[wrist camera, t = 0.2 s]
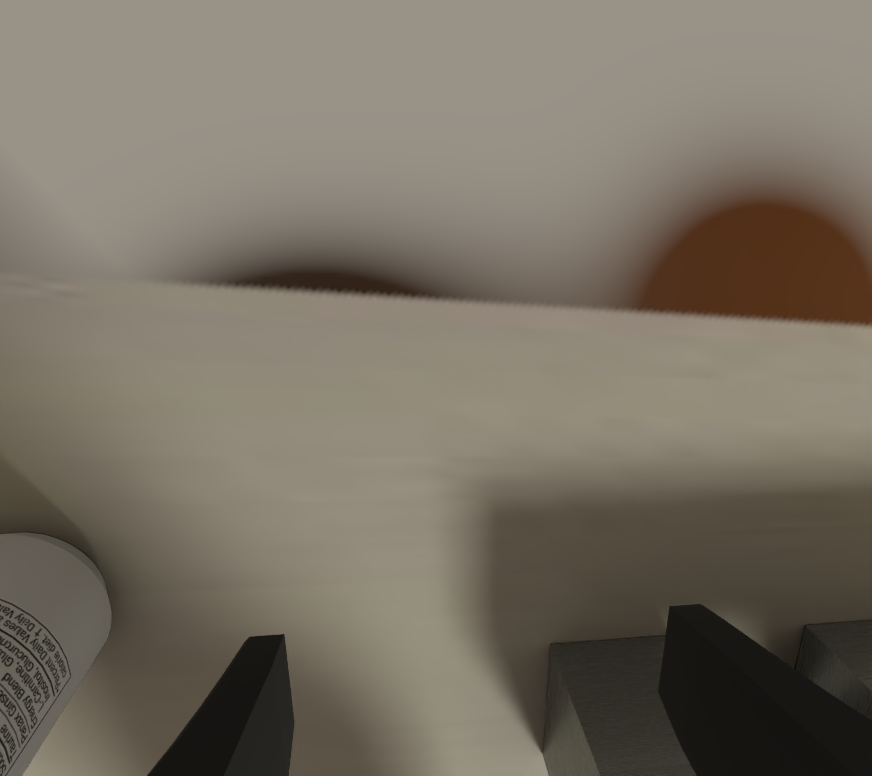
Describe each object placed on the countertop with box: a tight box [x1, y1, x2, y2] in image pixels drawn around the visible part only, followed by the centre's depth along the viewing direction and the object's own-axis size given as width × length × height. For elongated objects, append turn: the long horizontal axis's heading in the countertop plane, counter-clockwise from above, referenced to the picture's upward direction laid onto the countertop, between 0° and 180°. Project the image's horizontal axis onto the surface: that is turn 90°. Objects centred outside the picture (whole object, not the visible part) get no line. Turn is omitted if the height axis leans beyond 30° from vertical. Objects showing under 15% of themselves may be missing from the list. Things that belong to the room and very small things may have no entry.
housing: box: [543, 620, 872, 776], centre depth 22 cm, size 6×17×6 cm, turn 90°
